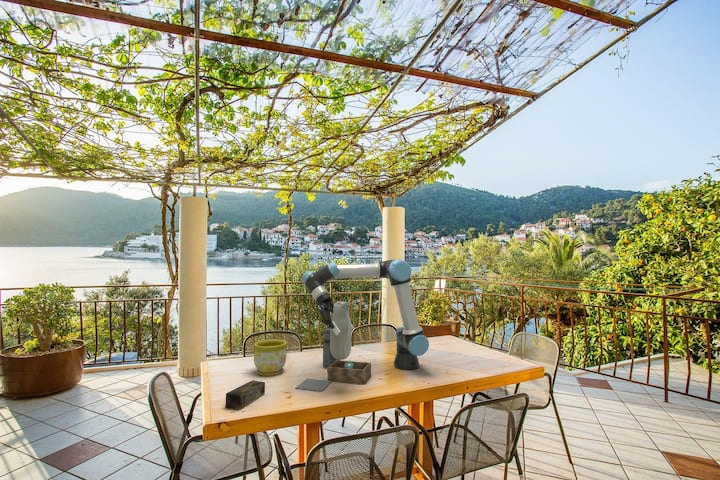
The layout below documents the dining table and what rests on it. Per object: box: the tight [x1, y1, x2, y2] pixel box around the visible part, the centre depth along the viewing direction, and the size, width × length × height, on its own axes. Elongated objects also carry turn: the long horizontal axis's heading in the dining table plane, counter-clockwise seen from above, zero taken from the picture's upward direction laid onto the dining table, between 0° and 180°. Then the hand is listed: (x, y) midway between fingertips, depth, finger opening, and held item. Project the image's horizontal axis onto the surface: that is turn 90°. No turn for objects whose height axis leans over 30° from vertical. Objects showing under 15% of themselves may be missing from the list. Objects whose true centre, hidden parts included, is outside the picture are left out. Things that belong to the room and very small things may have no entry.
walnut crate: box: [326, 359, 372, 385], centre depth 187 cm, size 20×14×7 cm
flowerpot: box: [253, 338, 288, 377], centre depth 197 cm, size 18×18×16 cm
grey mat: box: [295, 378, 333, 393], centre depth 176 cm, size 14×14×1 cm
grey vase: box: [330, 300, 353, 361], centre depth 171 cm, size 10×10×28 cm
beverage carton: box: [225, 379, 266, 411], centre depth 157 cm, size 8×19×7 cm, turn 162°
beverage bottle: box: [322, 324, 338, 369], centre depth 208 cm, size 10×13×25 cm
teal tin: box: [344, 362, 354, 369], centre depth 189 cm, size 5×5×6 cm
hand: (345, 331), depth 170 cm, fingers closed on grey vase, 10 cm apart
